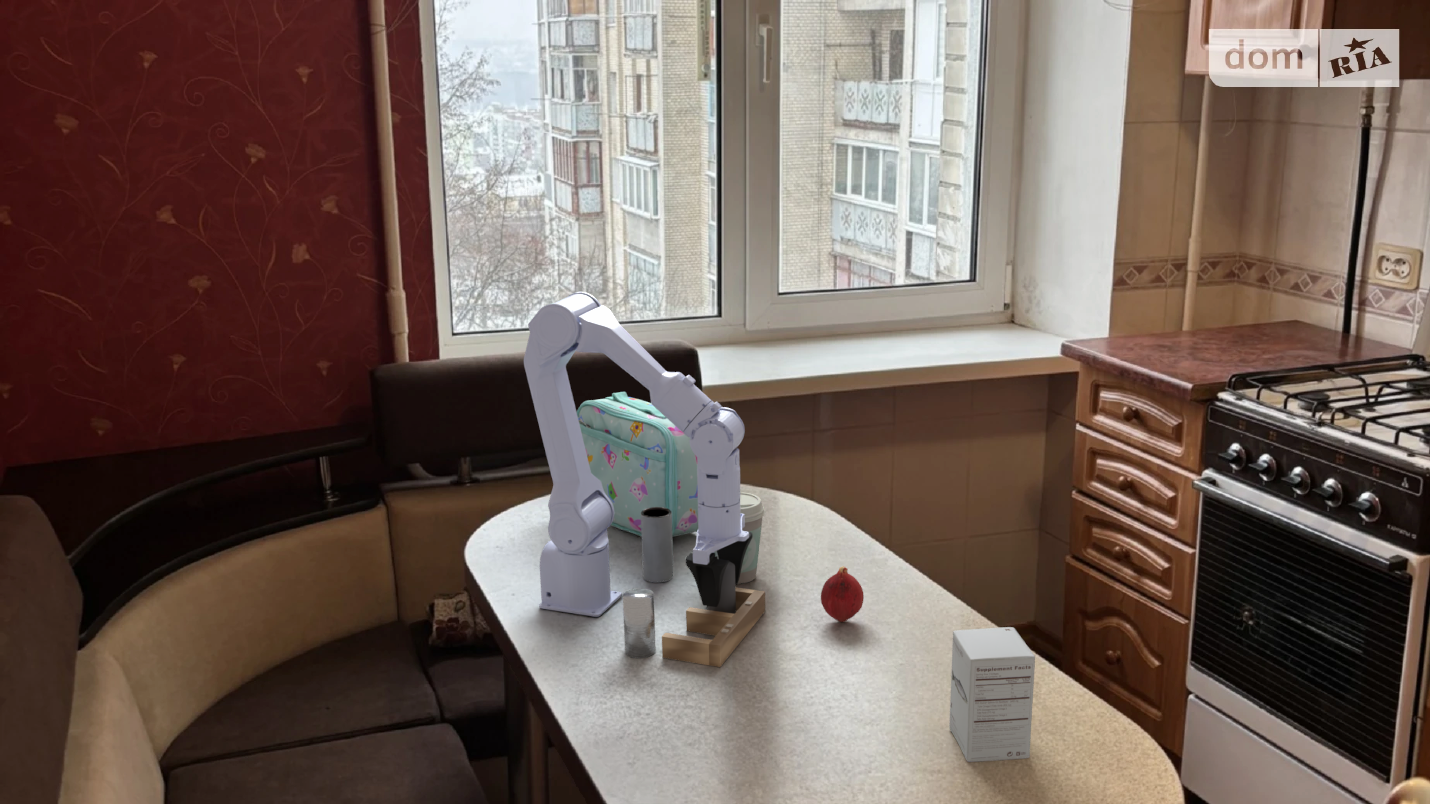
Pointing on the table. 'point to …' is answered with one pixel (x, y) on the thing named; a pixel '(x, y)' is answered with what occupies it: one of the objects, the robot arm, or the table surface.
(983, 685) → the supplement box
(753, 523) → the coffee cup
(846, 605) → the onion
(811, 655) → the table surface
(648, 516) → the grey tubular piece
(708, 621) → the rack
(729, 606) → the dark grey cylinder
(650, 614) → the grey rod
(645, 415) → the lunch box
